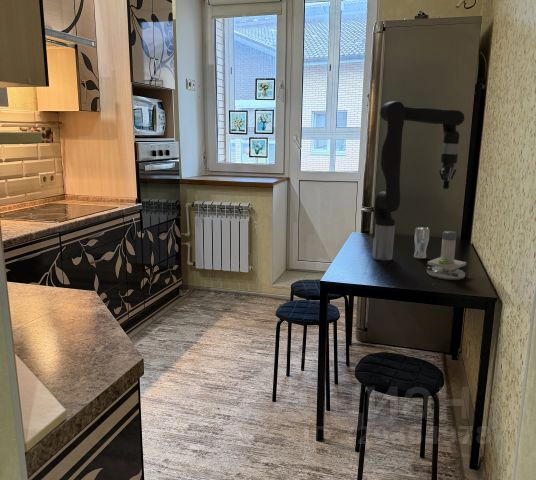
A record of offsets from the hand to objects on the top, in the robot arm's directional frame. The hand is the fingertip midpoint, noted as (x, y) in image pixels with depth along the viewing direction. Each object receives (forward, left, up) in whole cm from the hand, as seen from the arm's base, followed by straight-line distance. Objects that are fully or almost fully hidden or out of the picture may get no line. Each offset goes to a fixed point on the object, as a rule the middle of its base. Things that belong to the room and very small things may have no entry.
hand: (445, 188), depth 234 cm
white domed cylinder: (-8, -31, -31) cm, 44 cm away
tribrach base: (-8, -31, -35) cm, 47 cm away
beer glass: (-10, -1, -35) cm, 37 cm away
